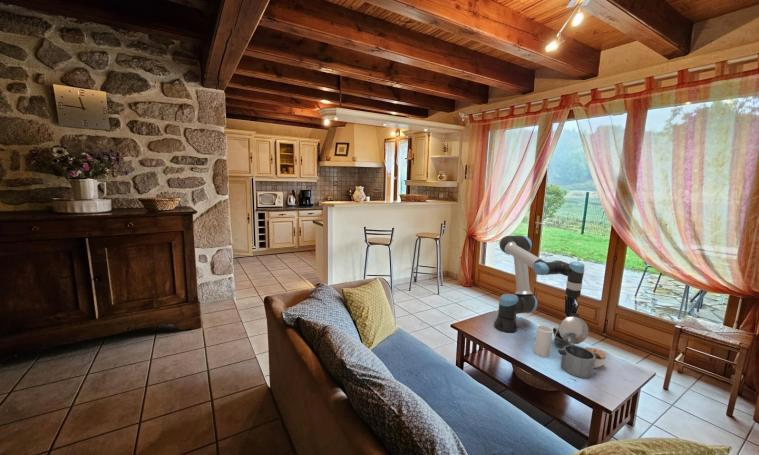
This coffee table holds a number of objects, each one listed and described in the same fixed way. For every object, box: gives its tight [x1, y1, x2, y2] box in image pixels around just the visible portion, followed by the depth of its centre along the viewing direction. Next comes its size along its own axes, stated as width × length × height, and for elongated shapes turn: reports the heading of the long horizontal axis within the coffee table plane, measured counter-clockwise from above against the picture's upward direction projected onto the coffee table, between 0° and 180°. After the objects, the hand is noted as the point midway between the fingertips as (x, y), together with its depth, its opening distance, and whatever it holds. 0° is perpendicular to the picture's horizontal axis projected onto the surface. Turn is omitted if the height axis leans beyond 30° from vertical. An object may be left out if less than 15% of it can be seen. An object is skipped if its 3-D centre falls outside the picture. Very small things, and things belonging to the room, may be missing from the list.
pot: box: [557, 344, 601, 379], centre depth 177 cm, size 16×21×10 cm
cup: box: [533, 324, 554, 358], centre depth 191 cm, size 8×8×16 cm
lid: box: [558, 312, 589, 345], centre depth 183 cm, size 17×15×2 cm
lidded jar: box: [585, 346, 607, 369], centre depth 182 cm, size 11×11×9 cm
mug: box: [552, 326, 571, 349], centre depth 202 cm, size 10×12×10 cm
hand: (567, 326), depth 190 cm, fingers closed
